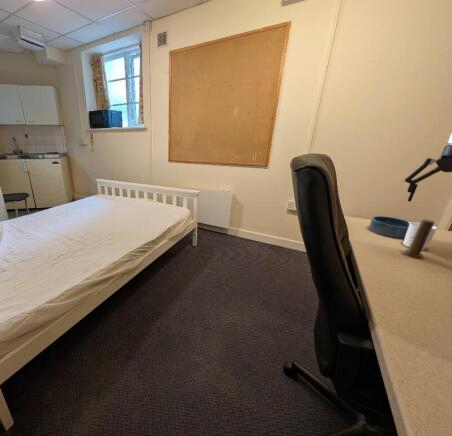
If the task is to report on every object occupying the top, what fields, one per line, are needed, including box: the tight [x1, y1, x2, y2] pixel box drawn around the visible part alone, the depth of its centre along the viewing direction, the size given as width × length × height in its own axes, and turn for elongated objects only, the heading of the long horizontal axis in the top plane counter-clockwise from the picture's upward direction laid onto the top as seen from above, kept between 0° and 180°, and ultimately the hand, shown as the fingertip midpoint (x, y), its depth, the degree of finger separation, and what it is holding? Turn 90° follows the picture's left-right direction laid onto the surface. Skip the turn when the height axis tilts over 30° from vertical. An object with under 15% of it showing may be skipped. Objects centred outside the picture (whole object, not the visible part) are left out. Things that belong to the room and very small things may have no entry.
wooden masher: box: [403, 219, 436, 259], centre depth 87 cm, size 5×5×15 cm
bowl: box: [368, 215, 412, 239], centre depth 110 cm, size 15×16×6 cm
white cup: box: [403, 221, 438, 251], centre depth 96 cm, size 8×8×10 cm
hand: (435, 204), depth 82 cm, fingers open, 13 cm apart
